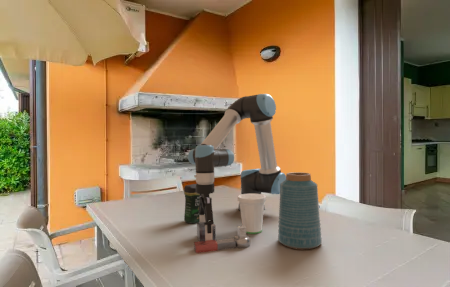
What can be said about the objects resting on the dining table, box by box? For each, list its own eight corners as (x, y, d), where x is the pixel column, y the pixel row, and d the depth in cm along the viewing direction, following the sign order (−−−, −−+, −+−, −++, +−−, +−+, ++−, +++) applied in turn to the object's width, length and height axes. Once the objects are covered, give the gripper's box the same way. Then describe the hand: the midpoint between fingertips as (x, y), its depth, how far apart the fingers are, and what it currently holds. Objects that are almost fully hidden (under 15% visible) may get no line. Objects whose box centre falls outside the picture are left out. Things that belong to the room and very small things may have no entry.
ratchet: (246, 241, 107) (246, 224, 107) (252, 247, 101) (251, 228, 101) (193, 247, 102) (193, 229, 102) (196, 254, 96) (195, 234, 96)
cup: (268, 227, 124) (268, 194, 124) (263, 236, 112) (263, 199, 112) (242, 225, 128) (242, 192, 128) (234, 233, 116) (234, 198, 116)
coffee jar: (191, 225, 130) (191, 186, 130) (181, 221, 135) (181, 184, 135) (206, 220, 137) (206, 183, 137) (196, 217, 142) (196, 182, 142)
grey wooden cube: (212, 236, 114) (212, 221, 114) (215, 241, 108) (215, 225, 108) (197, 237, 113) (196, 222, 113) (199, 243, 106) (199, 227, 106)
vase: (315, 254, 94) (314, 177, 94) (271, 245, 103) (270, 175, 102) (326, 239, 108) (324, 172, 107) (286, 232, 116) (285, 170, 116)
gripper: (191, 179, 121) (192, 226, 121) (200, 188, 97) (201, 247, 97) (208, 178, 123) (208, 225, 123) (221, 187, 99) (222, 245, 99)
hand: (205, 235), depth 110 cm, fingers open, 13 cm apart
